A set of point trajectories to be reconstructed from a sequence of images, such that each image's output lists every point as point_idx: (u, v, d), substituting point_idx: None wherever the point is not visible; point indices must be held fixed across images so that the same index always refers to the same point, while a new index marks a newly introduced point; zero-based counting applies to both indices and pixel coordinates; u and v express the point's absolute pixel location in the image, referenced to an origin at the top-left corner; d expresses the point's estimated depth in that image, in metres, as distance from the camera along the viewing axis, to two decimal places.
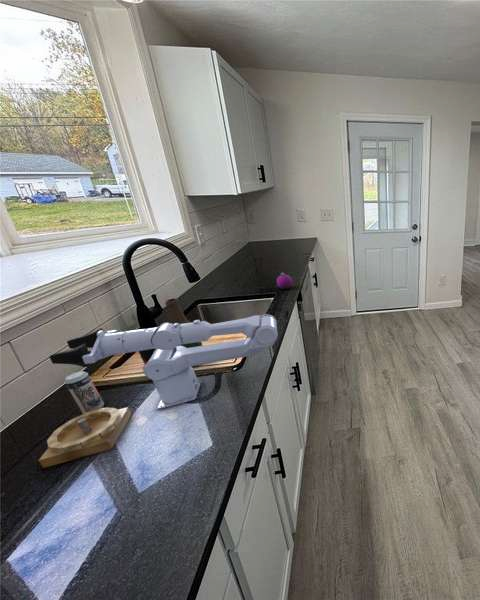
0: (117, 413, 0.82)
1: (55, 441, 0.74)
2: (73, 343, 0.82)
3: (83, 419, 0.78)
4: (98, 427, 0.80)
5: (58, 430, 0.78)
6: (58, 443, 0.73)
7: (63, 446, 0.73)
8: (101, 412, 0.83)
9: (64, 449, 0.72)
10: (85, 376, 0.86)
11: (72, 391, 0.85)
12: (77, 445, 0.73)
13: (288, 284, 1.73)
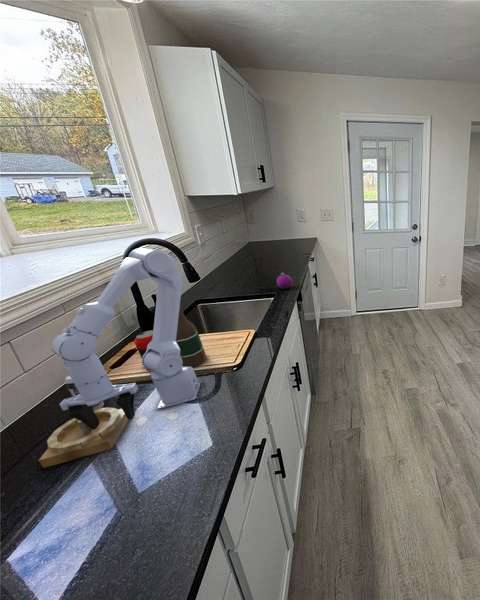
0: (117, 413, 0.82)
1: (55, 441, 0.74)
2: (95, 423, 0.79)
3: None
4: (98, 427, 0.80)
5: (58, 430, 0.78)
6: (58, 443, 0.73)
7: (63, 446, 0.73)
8: (101, 412, 0.83)
9: (64, 449, 0.72)
10: None
11: (72, 391, 0.85)
12: (77, 445, 0.73)
13: (288, 284, 1.73)
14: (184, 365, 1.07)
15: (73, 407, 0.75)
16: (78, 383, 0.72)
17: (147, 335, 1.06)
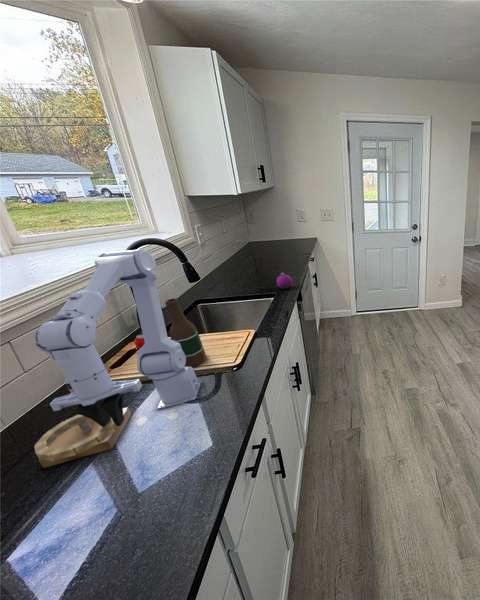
0: None
1: (44, 447, 0.63)
2: None
3: None
4: (98, 427, 0.80)
5: (48, 433, 0.66)
6: (47, 449, 0.62)
7: (53, 452, 0.61)
8: None
9: (54, 456, 0.61)
10: None
11: (72, 391, 0.85)
12: (69, 451, 0.62)
13: (288, 284, 1.73)
14: None
15: None
16: (84, 376, 0.62)
17: None
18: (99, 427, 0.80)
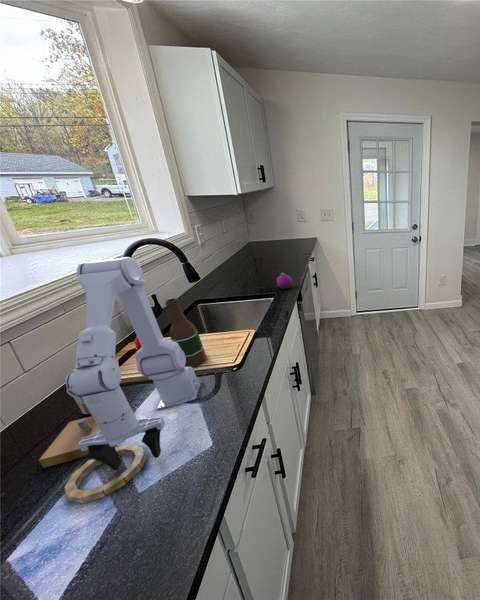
0: (142, 451, 0.73)
1: (74, 488, 0.65)
2: (117, 462, 0.70)
3: (83, 419, 0.78)
4: (98, 427, 0.80)
5: (76, 473, 0.68)
6: (77, 491, 0.64)
7: (83, 495, 0.63)
8: (123, 450, 0.74)
9: (85, 499, 0.63)
10: None
11: None
12: (99, 493, 0.64)
13: (288, 284, 1.73)
14: None
15: (93, 447, 0.66)
16: (113, 417, 0.64)
17: None
18: None
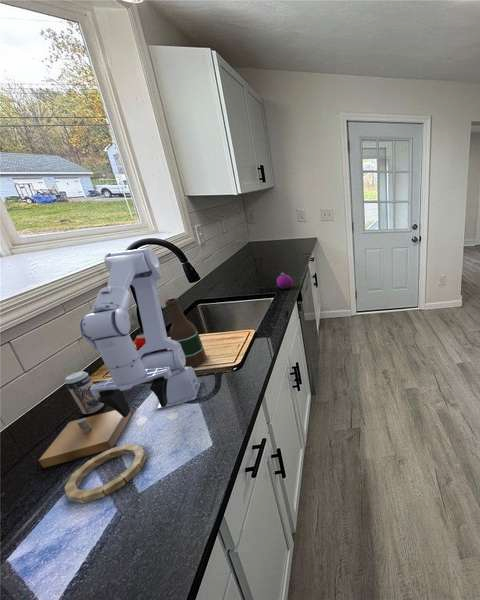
0: (142, 451, 0.73)
1: (74, 488, 0.65)
2: (126, 410, 0.73)
3: (83, 419, 0.78)
4: (98, 427, 0.80)
5: (76, 473, 0.68)
6: (77, 491, 0.64)
7: (83, 495, 0.63)
8: (123, 450, 0.74)
9: (85, 499, 0.63)
10: (85, 376, 0.86)
11: (72, 391, 0.85)
12: (99, 493, 0.64)
13: (288, 284, 1.73)
14: None
15: (104, 392, 0.69)
16: (125, 362, 0.68)
17: None
18: (99, 427, 0.80)
